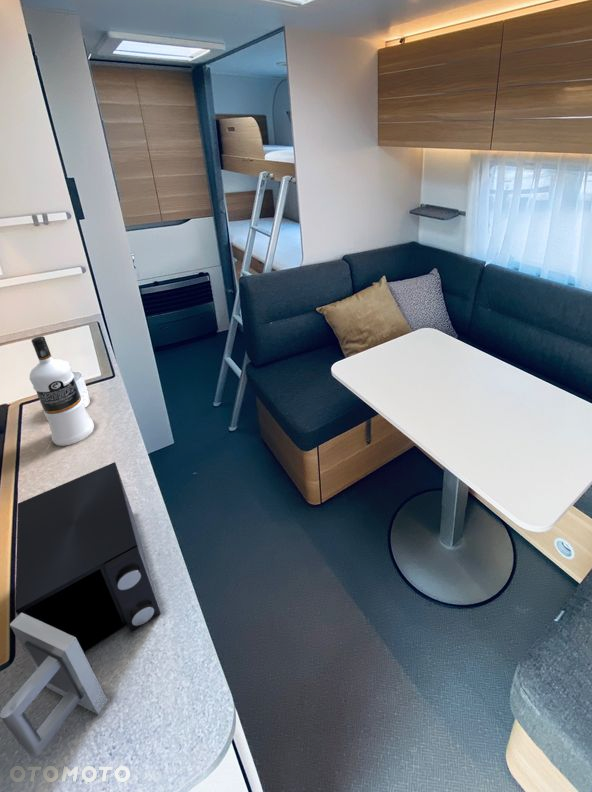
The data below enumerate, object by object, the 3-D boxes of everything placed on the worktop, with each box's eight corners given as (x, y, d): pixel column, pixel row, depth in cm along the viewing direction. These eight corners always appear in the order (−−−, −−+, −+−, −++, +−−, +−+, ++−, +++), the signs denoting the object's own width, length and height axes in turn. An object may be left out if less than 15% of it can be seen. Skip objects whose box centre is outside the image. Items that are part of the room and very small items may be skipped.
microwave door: (54, 779, 52) (10, 715, 46) (0, 746, 55) (-49, 681, 49) (108, 701, 59) (76, 637, 53) (57, 676, 62) (21, 611, 56)
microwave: (162, 619, 69) (140, 556, 63) (53, 691, 60) (14, 626, 54) (134, 519, 87) (115, 461, 80) (47, 563, 78) (17, 503, 72)
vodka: (94, 419, 116) (61, 325, 105) (96, 438, 109) (60, 339, 98) (54, 432, 112) (14, 336, 100) (53, 453, 104) (10, 351, 93)
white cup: (82, 396, 126) (72, 368, 123) (98, 403, 123) (88, 375, 119) (54, 411, 120) (43, 383, 116) (70, 419, 117) (59, 390, 113)
